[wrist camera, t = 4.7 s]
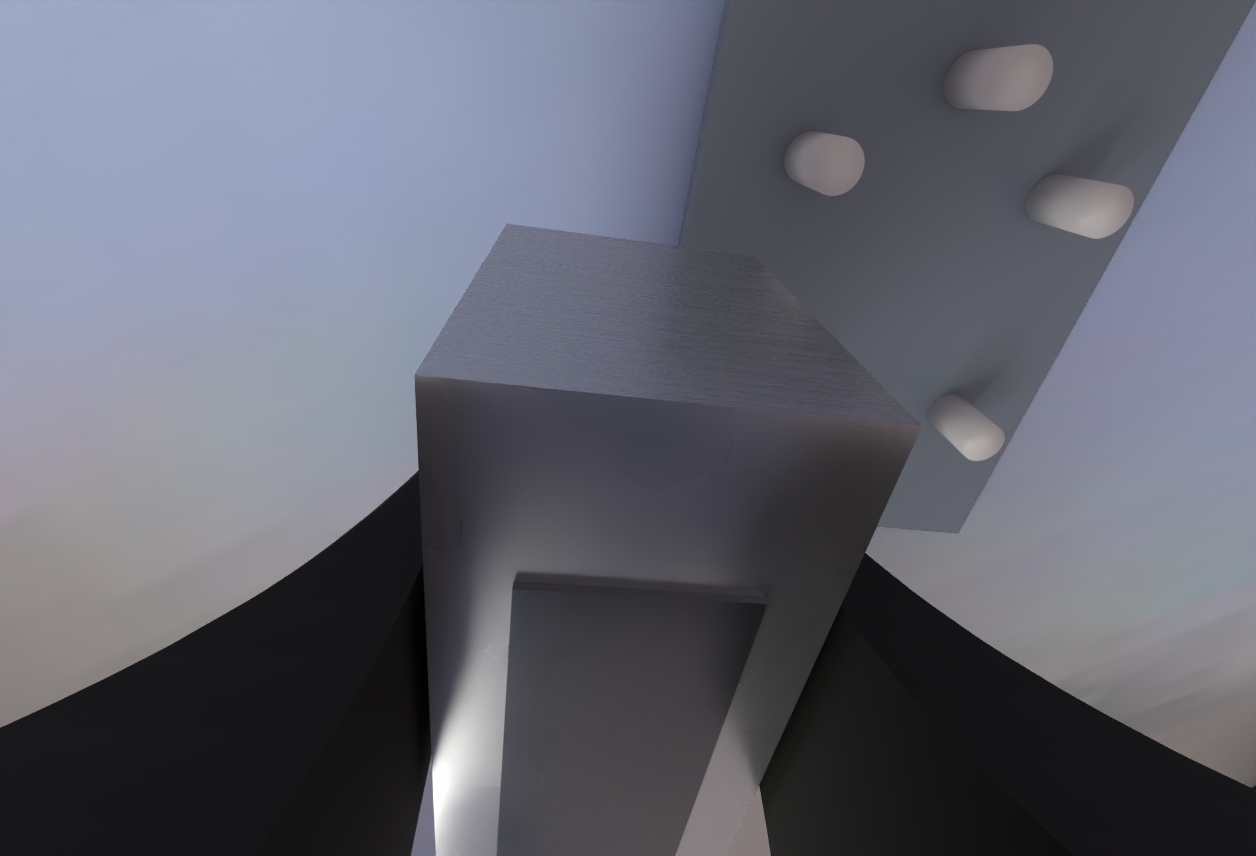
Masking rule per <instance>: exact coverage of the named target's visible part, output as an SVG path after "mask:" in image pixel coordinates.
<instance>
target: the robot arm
mask: <svg viewBox="0 0 1256 856" xmlns="http://www.w3.org/2000/svg"><path fill="white" fill-rule="evenodd" d="M759 786H760V791H761V797H762V803H763V809H764V815H765V821H766V826H767V833H768V839H769V846H770V852H771V856H1256V790H1254V789H1252V788H1250V787H1248V786H1246V785H1244V784H1242V783H1240V782H1238V781H1235V780H1233V779H1231V778H1229V777H1227V776H1225V775H1223V774H1221V773H1219V772H1217V771H1214V770H1212V769H1210V768H1208V767H1206V766H1204V765H1202V764H1200V763H1198V762H1196V761H1193V760H1191V759H1189V758H1187V757H1185V756H1183V755H1181V754H1179V753H1177V752H1175V751H1174V750H1172V749H1170V748H1168V747H1166V746H1164V745H1162V744H1160V743H1158V742H1156V741H1155V740H1153V739H1151V738H1149V737H1147V736H1145V735H1143V734H1141V733H1140V732H1138V731H1136V730H1134V729H1132V728H1130V727H1128V726H1126V725H1124V724H1123V723H1121V722H1119V721H1117V720H1115V719H1113V718H1111V717H1109V716H1108V715H1106V714H1104V713H1102V712H1100V711H1099V710H1097V709H1095V708H1093V707H1091V706H1090V705H1088V704H1086V703H1084V702H1083V701H1081V700H1079V699H1077V698H1075V697H1074V696H1072V695H1070V694H1068V693H1067V692H1065V691H1063V690H1061V689H1060V688H1058V687H1056V686H1055V685H1053V684H1051V683H1050V682H1048V681H1047V680H1045V679H1043V678H1042V677H1040V676H1038V675H1037V674H1035V673H1033V672H1032V671H1030V670H1028V669H1027V668H1025V667H1024V666H1022V665H1020V664H1019V663H1017V662H1015V661H1014V660H1012V659H1010V658H1009V657H1007V656H1005V655H1004V654H1002V653H1001V652H999V651H998V650H996V649H995V648H993V647H992V646H990V645H988V644H987V643H985V642H984V641H982V640H981V639H979V638H978V637H976V636H975V635H973V634H972V633H970V632H969V631H968V630H966V629H965V628H963V627H962V626H960V625H959V624H958V623H956V622H955V621H953V620H952V619H950V618H949V617H948V616H946V615H945V614H943V613H942V612H940V611H939V610H938V609H936V608H935V607H933V606H932V605H930V604H929V603H928V602H926V601H925V600H924V599H922V598H921V597H920V596H918V595H917V594H916V593H914V592H913V591H912V590H910V589H909V588H908V587H907V586H905V585H904V584H903V583H902V582H900V581H899V580H898V579H897V578H895V577H894V576H893V575H892V574H890V573H889V572H888V571H887V570H885V569H884V568H883V567H882V566H880V565H879V564H878V563H877V562H875V561H874V560H873V559H872V558H871V557H869V556H868V555H867V554H866V553H865V554H864V556H863V558H862V560H861V562H860V564H859V567H858V569H857V571H856V573H855V575H854V578H853V580H852V582H851V584H850V586H849V589H848V591H847V593H846V595H845V597H844V600H843V602H842V604H841V606H840V608H839V611H838V613H837V615H836V617H835V619H834V622H833V624H832V626H831V628H830V630H829V633H828V635H827V637H826V639H825V641H824V644H823V646H822V648H821V650H820V652H819V655H818V657H817V659H816V661H815V663H814V666H813V668H812V670H811V672H810V674H809V677H808V679H807V681H806V683H805V685H804V688H803V690H802V692H801V694H800V696H799V699H798V701H797V703H796V705H795V707H794V710H793V712H792V714H791V716H790V718H789V721H788V723H787V725H786V727H785V729H784V732H783V734H782V736H781V738H780V740H779V742H778V745H777V747H776V749H775V751H774V753H773V756H772V758H771V760H770V762H769V764H768V767H767V769H766V771H765V773H764V775H763V778H762V780H761V782H760V784H759ZM0 856H436V844H435V822H434V799H433V777H432V755H431V732H430V709H429V687H428V664H427V642H426V619H425V597H424V575H423V552H422V529H421V507H420V484H419V471H417V472H416V473H415V474H414V475H413V476H412V477H411V478H410V479H409V480H408V481H407V482H406V483H405V484H404V485H402V486H401V487H400V488H399V489H398V490H397V491H396V492H394V493H393V494H392V495H391V496H390V497H389V498H388V499H386V500H385V501H384V502H383V503H382V504H381V505H380V506H379V507H377V508H376V509H375V510H374V511H373V512H372V513H370V514H369V515H368V516H367V517H365V518H364V519H363V520H362V521H360V522H359V523H358V524H357V525H355V526H354V527H353V528H352V529H350V530H349V531H348V532H346V533H345V534H344V535H343V536H341V537H340V538H339V539H338V540H336V541H335V542H334V543H332V544H331V545H330V546H329V547H327V548H326V549H325V550H323V551H322V552H321V553H319V554H318V555H316V556H315V557H314V558H312V559H311V560H309V561H308V562H307V563H305V564H304V565H302V566H301V567H300V568H298V569H297V570H295V571H294V572H292V573H291V574H289V575H288V576H286V577H285V578H283V579H282V580H280V581H279V582H277V583H276V584H274V585H272V586H271V587H269V588H268V589H266V590H265V591H263V592H262V593H260V594H258V595H257V596H255V597H253V598H252V599H250V600H249V601H247V602H245V603H243V604H242V605H240V606H238V607H236V608H235V609H233V610H231V611H229V612H228V613H226V614H224V615H222V616H221V617H219V618H217V619H215V620H213V621H212V622H210V623H208V624H206V625H205V626H203V627H201V628H199V629H198V630H196V631H194V632H192V633H191V634H189V635H187V636H185V637H184V638H182V639H180V640H178V641H177V642H175V643H173V644H171V645H170V646H168V647H166V648H164V649H162V650H160V651H158V652H156V653H154V654H152V655H151V656H149V657H147V658H145V659H143V660H141V661H139V662H137V663H135V664H133V665H131V666H129V667H127V668H125V669H123V670H121V671H119V672H117V673H115V674H113V675H111V676H109V677H107V678H105V679H103V680H101V681H99V682H97V683H95V684H93V685H91V686H89V687H87V688H85V689H82V690H80V691H78V692H76V693H74V694H72V695H70V696H68V697H66V698H64V699H62V700H60V701H58V702H55V703H53V704H51V705H49V706H47V707H45V708H43V709H41V710H38V711H36V712H34V713H32V714H30V715H28V716H25V717H23V718H21V719H19V720H17V721H14V722H12V723H10V724H8V725H6V726H3V727H1V728H0Z"/></svg>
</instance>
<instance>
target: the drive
mask: <svg viewBox="0 0 1256 856" xmlns="http://www.w3.org/2000/svg"><path fill="white" fill-rule="evenodd" d="M415 395H416V417H417V439H418V462H419V484H420V507H421V529H422V552H423V575H424V597H425V619H426V642H427V664H428V687H429V709H430V732H431V755H432V777H433V799H434V822H435V844H436V856H727V855H728V852H729V850H730V848H731V846H732V844H733V841H734V839H735V837H736V835H737V833H738V830H739V828H740V826H741V824H742V822H743V819H744V817H745V815H746V813H747V810H748V808H749V806H750V804H751V802H752V800H753V797H754V795H755V793H756V791H757V789H758V786H759V784H760V782H761V780H762V778H763V775H764V773H765V771H766V769H767V767H768V764H769V762H770V760H771V758H772V756H773V753H774V751H775V749H776V747H777V745H778V742H779V740H780V738H781V736H782V734H783V732H784V729H785V727H786V725H787V723H788V721H789V718H790V716H791V714H792V712H793V710H794V707H795V705H796V703H797V701H798V699H799V696H800V694H801V692H802V690H803V688H804V685H805V683H806V681H807V679H808V677H809V674H810V672H811V670H812V668H813V666H814V663H815V661H816V659H817V657H818V655H819V652H820V650H821V648H822V646H823V644H824V641H825V639H826V637H827V635H828V633H829V630H830V628H831V626H832V624H833V622H834V619H835V617H836V615H837V613H838V611H839V608H840V606H841V604H842V602H843V600H844V597H845V595H846V593H847V591H848V589H849V586H850V584H851V582H852V580H853V578H854V575H855V573H856V571H857V569H858V567H859V564H860V562H861V560H862V558H863V556H864V554H865V551H866V549H867V547H868V545H869V543H870V540H871V538H872V536H873V534H874V532H875V529H876V527H877V525H878V523H879V521H880V518H881V516H882V514H883V512H884V510H885V507H886V505H887V503H888V501H889V499H890V496H891V494H892V492H893V490H894V488H895V485H896V483H897V481H898V479H899V477H900V474H901V472H902V470H903V468H904V466H905V463H906V461H907V459H908V457H909V455H910V452H911V450H912V448H913V446H914V444H915V441H916V439H917V437H918V435H919V433H920V430H921V428H922V425H921V424H920V423H919V422H918V421H917V420H916V419H915V418H914V417H913V416H912V415H911V414H910V413H909V412H908V411H907V410H906V409H905V408H904V407H903V406H902V405H901V404H900V403H899V402H898V401H897V400H896V399H895V398H894V397H893V396H892V395H891V394H890V393H889V392H888V391H887V390H886V389H885V388H884V387H883V386H882V385H881V384H880V383H879V382H878V381H877V380H876V379H875V378H874V377H873V376H872V375H871V374H870V373H869V372H868V371H867V370H866V368H865V367H864V366H863V365H862V364H861V363H860V362H859V361H858V360H857V359H856V358H855V357H854V356H853V355H852V354H851V353H850V352H849V351H848V350H847V349H846V348H845V347H844V346H843V345H842V344H841V343H840V342H839V341H838V340H837V339H836V338H835V337H834V336H833V335H832V334H831V333H830V332H829V331H828V330H827V329H826V328H825V327H824V326H823V325H822V324H821V323H820V322H819V321H818V320H817V319H816V318H815V317H814V316H813V315H812V314H811V313H810V312H809V311H808V310H807V309H806V308H805V307H804V306H803V305H802V304H801V303H800V301H799V300H798V299H797V298H796V297H795V296H794V295H793V294H792V293H791V292H790V291H789V290H788V289H787V288H786V287H785V286H784V285H783V284H782V283H781V282H780V281H779V280H778V279H777V278H776V277H775V276H774V275H773V274H772V273H771V272H770V271H769V270H768V269H767V268H766V267H765V266H764V265H763V264H762V263H761V262H760V261H759V260H758V259H757V258H756V257H752V256H745V255H737V254H730V253H722V252H715V251H707V250H700V249H692V248H685V247H678V246H670V245H663V244H655V243H648V242H640V241H633V240H625V239H618V238H610V237H603V236H595V235H588V234H581V233H573V232H566V231H558V230H551V229H543V228H536V227H528V226H521V225H513V224H506V226H505V228H504V229H503V231H502V233H501V234H500V236H499V237H498V239H497V241H496V242H495V244H494V246H493V247H492V249H491V251H490V252H489V254H488V256H487V257H486V259H485V260H484V262H483V264H482V265H481V267H480V269H479V270H478V272H477V274H476V275H475V277H474V278H473V280H472V282H471V283H470V285H469V287H468V288H467V290H466V292H465V293H464V295H463V296H462V298H461V300H460V301H459V303H458V305H457V306H456V308H455V310H454V311H453V313H452V314H451V316H450V318H449V319H448V321H447V323H446V324H445V326H444V328H443V329H442V331H441V333H440V334H439V336H438V337H437V339H436V341H435V342H434V344H433V346H432V347H431V349H430V351H429V352H428V354H427V355H426V357H425V359H424V360H423V362H422V364H421V365H420V367H419V369H418V370H417V372H416V373H415Z"/></svg>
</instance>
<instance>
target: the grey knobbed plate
mask: <svg viewBox="0 0 1256 856" xmlns="http://www.w3.org/2000/svg"><path fill="white" fill-rule="evenodd" d="M1255 1H1256V0H726V1H725V7H724V12H723V17H722V22H721V27H720V33H719V38H718V43H717V48H716V54H715V59H714V64H713V69H712V74H711V80H710V85H709V90H708V95H707V101H706V106H705V111H704V116H703V121H702V127H701V132H700V137H699V142H698V148H697V153H696V158H695V163H694V168H693V174H692V179H691V184H690V189H689V195H688V200H687V205H686V210H685V215H684V221H683V226H682V231H681V236H680V242H679V247H685V248H692V249H700V250H707V251H715V252H722V253H730V254H737V255H745V256H752V257H756V258H757V259H758V260H759V261H760V262H761V263H762V264H763V265H764V266H765V267H766V268H767V269H768V270H769V271H770V272H771V273H772V274H773V275H774V276H775V277H776V278H777V279H778V280H779V281H780V282H781V283H782V284H783V285H784V286H785V287H786V288H787V289H788V290H789V291H790V292H791V293H792V294H793V295H794V296H795V297H796V298H797V299H798V300H799V301H800V303H801V304H802V305H803V306H804V307H805V308H806V309H807V310H808V311H809V312H810V313H811V314H812V315H813V316H814V317H815V318H816V319H817V320H818V321H819V322H820V323H821V324H822V325H823V326H824V327H825V328H826V329H827V330H828V331H829V332H830V333H831V334H832V335H833V336H834V337H835V338H836V339H837V340H838V341H839V342H840V343H841V344H842V345H843V346H844V347H845V348H846V349H847V350H848V351H849V352H850V353H851V354H852V355H853V356H854V357H855V358H856V359H857V360H858V361H859V362H860V363H861V364H862V365H863V366H864V367H865V368H866V370H867V371H868V372H869V373H870V374H871V375H872V376H873V377H874V378H875V379H876V380H877V381H878V382H879V383H880V384H881V385H882V386H883V387H884V388H885V389H886V390H887V391H888V392H889V393H890V394H891V395H892V396H893V397H894V398H895V399H896V400H897V401H898V402H899V403H900V404H901V405H902V406H903V407H904V408H905V409H906V410H907V411H908V412H909V413H910V414H911V415H912V416H913V417H914V418H915V419H916V420H917V421H918V422H919V423H920V424H921V425H922V428H921V430H920V433H919V435H918V437H917V439H916V441H915V444H914V446H913V448H912V450H911V452H910V455H909V457H908V459H907V461H906V463H905V466H904V468H903V470H902V472H901V474H900V477H899V479H898V481H897V483H896V485H895V488H894V490H893V492H892V494H891V496H890V499H889V501H888V503H887V505H886V507H885V510H884V512H883V514H882V516H881V518H880V521H879V523H878V525H877V526H879V527H890V528H902V529H913V530H925V531H936V532H948V533H959V531H960V529H961V527H962V526H963V524H964V522H965V520H966V518H967V517H968V515H969V513H970V511H971V509H972V508H973V506H974V504H975V502H976V501H977V499H978V497H979V495H980V493H981V492H982V490H983V488H984V486H985V484H986V483H987V481H988V479H989V477H990V475H991V474H992V472H993V470H994V468H995V466H996V465H997V463H998V461H999V459H1000V458H1001V456H1002V454H1003V452H1004V450H1005V449H1006V447H1007V445H1008V443H1009V441H1010V440H1011V438H1012V436H1013V434H1014V432H1015V431H1016V429H1017V427H1018V425H1019V424H1020V422H1021V420H1022V418H1023V416H1024V415H1025V413H1026V411H1027V409H1028V407H1029V406H1030V404H1031V402H1032V400H1033V398H1034V397H1035V395H1036V393H1037V391H1038V389H1039V388H1040V386H1041V384H1042V382H1043V381H1044V379H1045V377H1046V375H1047V373H1048V372H1049V370H1050V368H1051V366H1052V364H1053V363H1054V361H1055V359H1056V357H1057V355H1058V354H1059V352H1060V350H1061V348H1062V347H1063V345H1064V343H1065V341H1066V339H1067V338H1068V336H1069V334H1070V332H1071V330H1072V329H1073V327H1074V325H1075V323H1076V321H1077V320H1078V318H1079V316H1080V314H1081V312H1082V311H1083V309H1084V307H1085V305H1086V304H1087V302H1088V300H1089V298H1090V296H1091V295H1092V293H1093V291H1094V289H1095V287H1096V286H1097V284H1098V282H1099V280H1100V278H1101V277H1102V275H1103V273H1104V271H1105V270H1106V268H1107V266H1108V264H1109V262H1110V261H1111V259H1112V257H1113V255H1114V253H1115V252H1116V250H1117V248H1118V246H1119V244H1120V243H1121V241H1122V239H1123V237H1124V236H1125V234H1126V232H1127V230H1128V228H1129V227H1130V225H1131V223H1132V221H1133V219H1134V218H1135V216H1136V214H1137V212H1138V210H1139V209H1140V207H1141V205H1142V203H1143V201H1144V200H1145V198H1146V196H1147V194H1148V193H1149V191H1150V189H1151V187H1152V185H1153V184H1154V182H1155V180H1156V178H1157V176H1158V175H1159V173H1160V171H1161V169H1162V167H1163V166H1164V164H1165V162H1166V160H1167V159H1168V157H1169V155H1170V153H1171V151H1172V150H1173V148H1174V146H1175V144H1176V142H1177V141H1178V139H1179V137H1180V135H1181V133H1182V132H1183V130H1184V128H1185V126H1186V124H1187V123H1188V121H1189V119H1190V117H1191V116H1192V114H1193V112H1194V110H1195V108H1196V107H1197V105H1198V103H1199V101H1200V99H1201V98H1202V96H1203V94H1204V92H1205V90H1206V89H1207V87H1208V85H1209V83H1210V82H1211V80H1212V78H1213V76H1214V74H1215V73H1216V71H1217V69H1218V67H1219V65H1220V64H1221V62H1222V60H1223V58H1224V56H1225V55H1226V53H1227V51H1228V49H1229V47H1230V46H1231V44H1232V42H1233V40H1234V39H1235V37H1236V35H1237V33H1238V31H1239V30H1240V28H1241V26H1242V24H1243V22H1244V21H1245V19H1246V17H1247V15H1248V13H1249V12H1250V10H1251V8H1252V6H1253V5H1254V3H1255Z"/></svg>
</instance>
